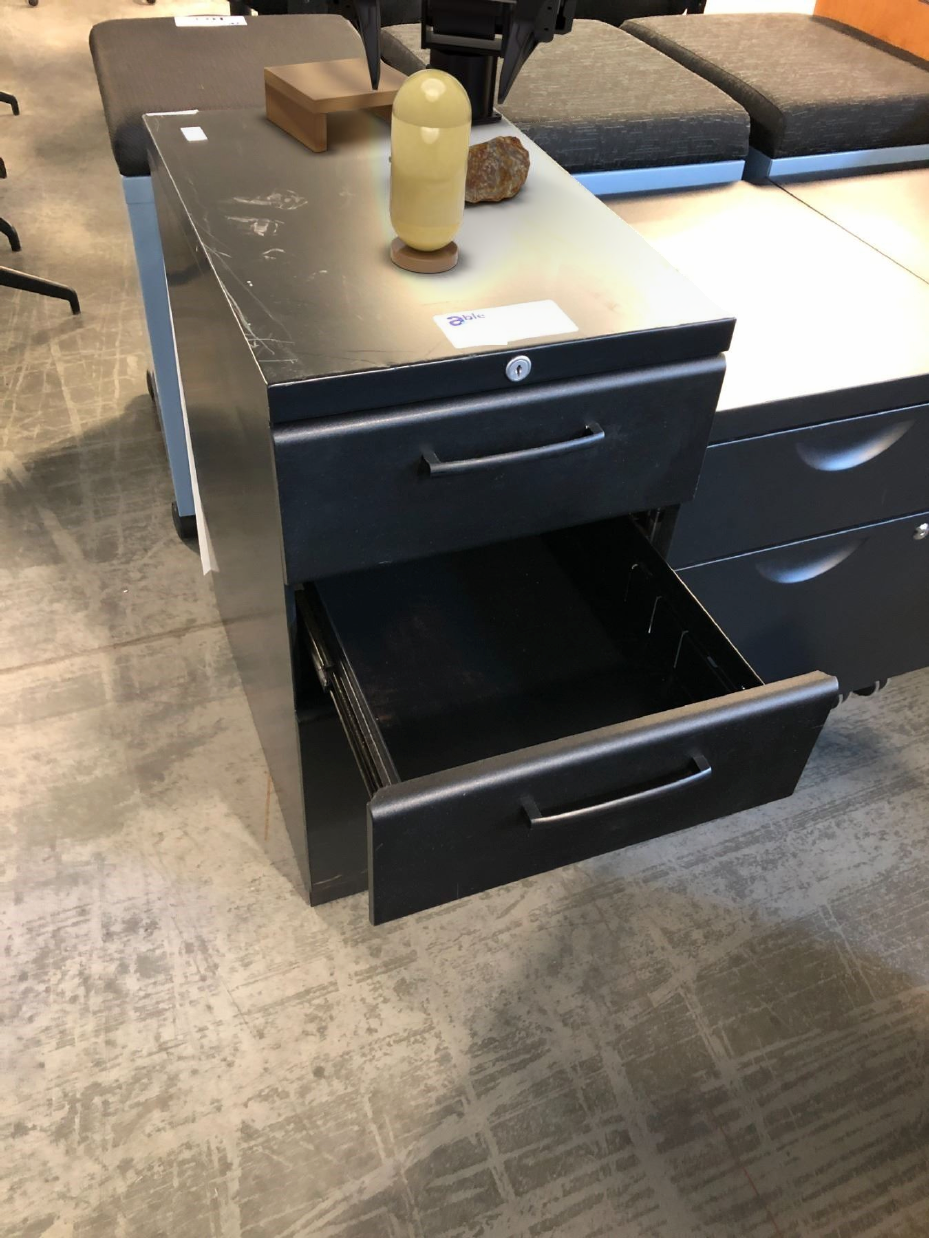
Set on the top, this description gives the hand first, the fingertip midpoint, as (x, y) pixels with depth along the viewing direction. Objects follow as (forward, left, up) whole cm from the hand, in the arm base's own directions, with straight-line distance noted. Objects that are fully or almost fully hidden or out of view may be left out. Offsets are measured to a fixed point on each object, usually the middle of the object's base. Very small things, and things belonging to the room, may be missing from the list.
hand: (437, 94), depth 70 cm
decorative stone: (-9, -8, -11) cm, 16 cm away
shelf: (-7, -25, -11) cm, 28 cm away
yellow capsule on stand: (+2, +3, -11) cm, 11 cm away
